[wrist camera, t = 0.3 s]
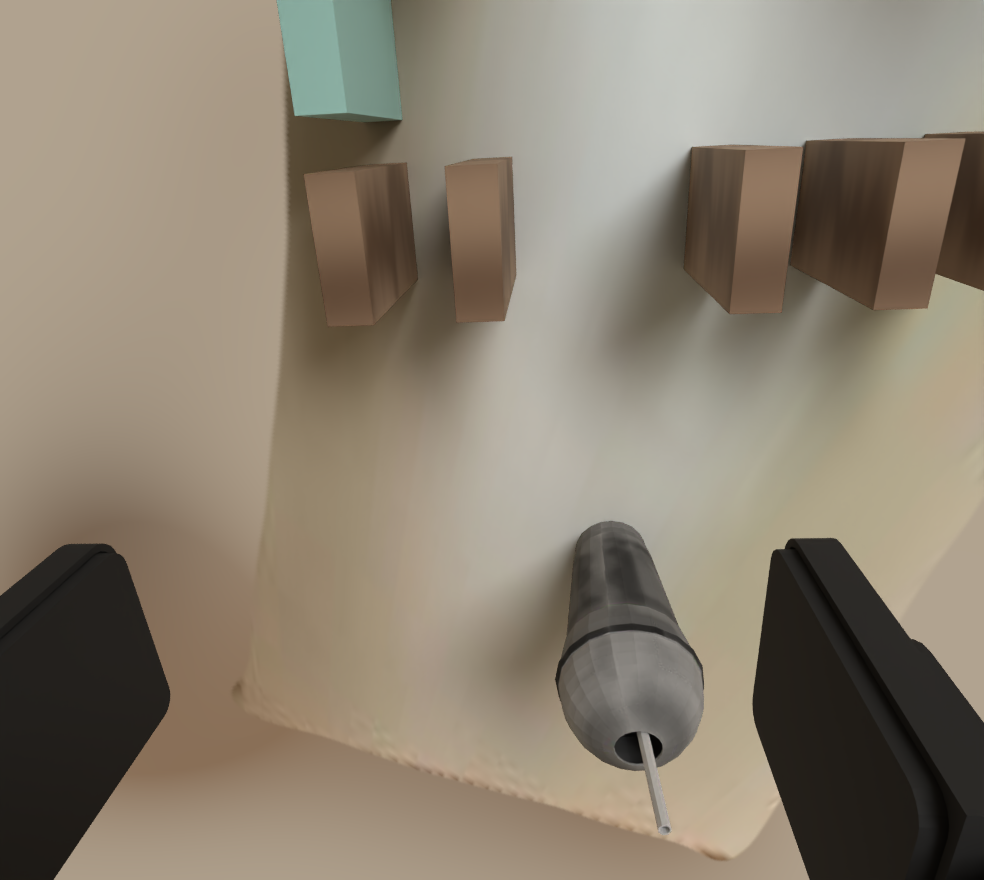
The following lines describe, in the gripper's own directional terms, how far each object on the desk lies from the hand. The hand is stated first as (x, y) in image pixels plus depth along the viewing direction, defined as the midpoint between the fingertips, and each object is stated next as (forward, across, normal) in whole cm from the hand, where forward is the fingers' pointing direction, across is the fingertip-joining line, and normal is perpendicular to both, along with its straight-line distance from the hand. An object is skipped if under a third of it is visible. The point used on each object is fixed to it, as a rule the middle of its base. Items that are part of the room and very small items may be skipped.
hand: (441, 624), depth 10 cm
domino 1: (+29, +7, -3) cm, 30 cm away
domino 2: (+29, +1, -3) cm, 29 cm away
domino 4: (+29, -15, -3) cm, 33 cm away
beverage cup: (+30, -5, +18) cm, 35 cm away
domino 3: (+29, -10, -3) cm, 31 cm away
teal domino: (+29, +7, -11) cm, 32 cm away
